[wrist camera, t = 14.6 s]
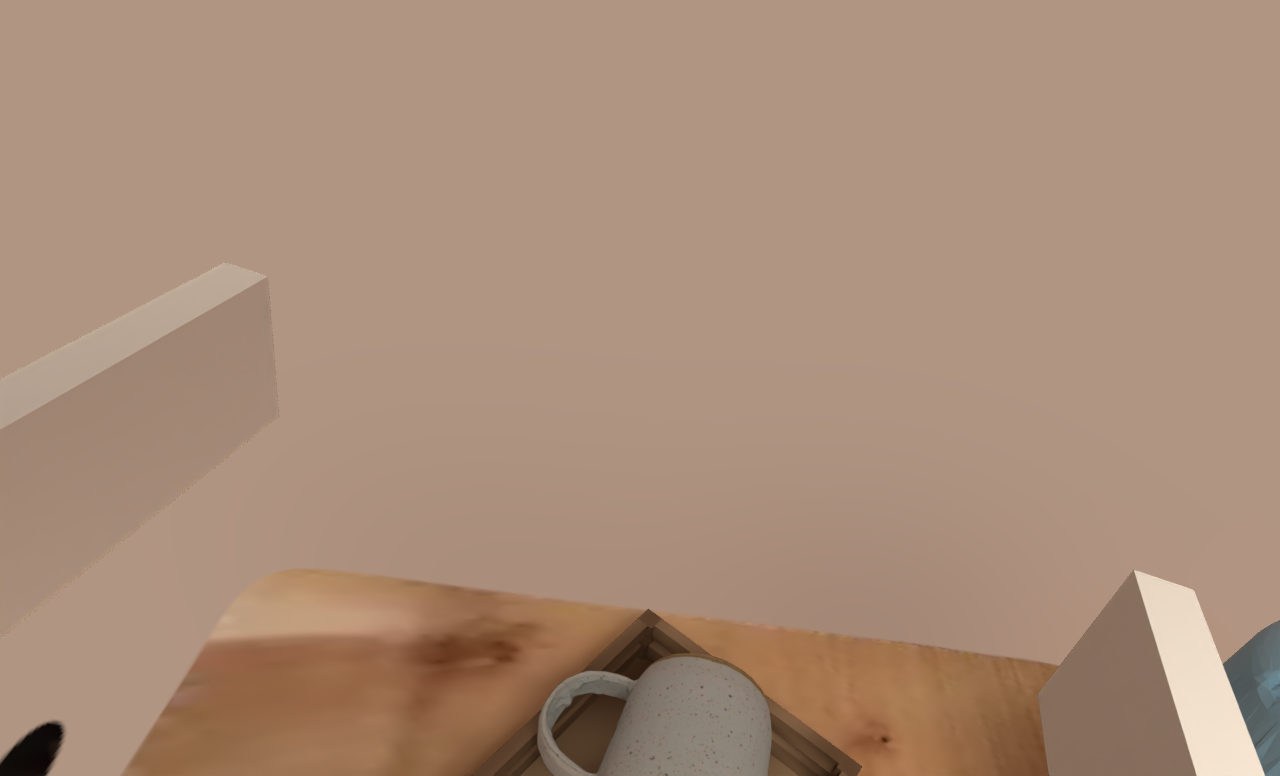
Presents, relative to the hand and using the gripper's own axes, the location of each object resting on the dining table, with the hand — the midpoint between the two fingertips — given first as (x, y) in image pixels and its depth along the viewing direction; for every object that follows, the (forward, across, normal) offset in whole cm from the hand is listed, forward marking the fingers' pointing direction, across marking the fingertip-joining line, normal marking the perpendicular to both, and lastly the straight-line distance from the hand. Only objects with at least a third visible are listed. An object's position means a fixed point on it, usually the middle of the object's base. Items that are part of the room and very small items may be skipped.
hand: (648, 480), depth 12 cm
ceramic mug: (+13, +1, -30) cm, 33 cm away
